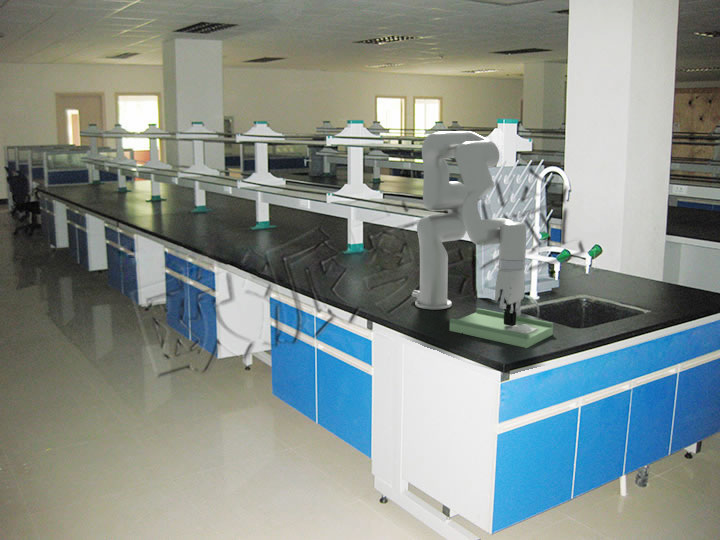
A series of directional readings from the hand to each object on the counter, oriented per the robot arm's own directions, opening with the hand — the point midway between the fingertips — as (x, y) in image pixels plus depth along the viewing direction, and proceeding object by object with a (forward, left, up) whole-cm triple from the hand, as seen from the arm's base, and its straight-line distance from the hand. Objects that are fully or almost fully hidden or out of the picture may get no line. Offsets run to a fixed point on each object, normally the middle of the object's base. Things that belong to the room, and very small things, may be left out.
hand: (509, 324), depth 206 cm
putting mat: (-3, 0, -3) cm, 4 cm away
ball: (+5, 0, -1) cm, 5 cm away
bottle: (-9, +18, -3) cm, 20 cm away
